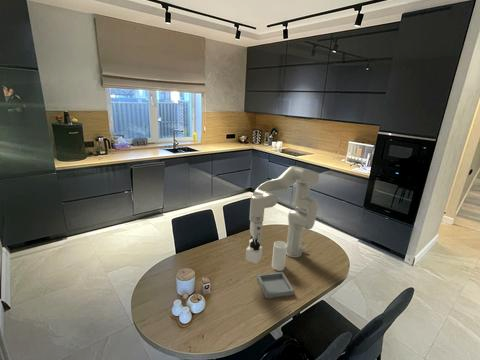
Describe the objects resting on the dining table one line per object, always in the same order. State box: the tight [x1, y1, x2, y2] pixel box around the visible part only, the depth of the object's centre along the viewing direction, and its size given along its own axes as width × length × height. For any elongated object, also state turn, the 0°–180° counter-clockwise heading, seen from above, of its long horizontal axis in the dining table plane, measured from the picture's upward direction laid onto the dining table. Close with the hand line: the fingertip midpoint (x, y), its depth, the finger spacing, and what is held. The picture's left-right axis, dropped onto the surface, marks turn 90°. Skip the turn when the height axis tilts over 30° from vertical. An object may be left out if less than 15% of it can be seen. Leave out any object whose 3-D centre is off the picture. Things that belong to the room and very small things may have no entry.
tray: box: [256, 271, 295, 300], centre depth 144 cm, size 16×16×3 cm
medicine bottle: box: [245, 239, 263, 264], centre depth 144 cm, size 7×7×12 cm
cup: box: [271, 240, 287, 272], centre depth 160 cm, size 8×8×16 cm
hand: (254, 246), depth 143 cm, fingers closed on medicine bottle, 6 cm apart
